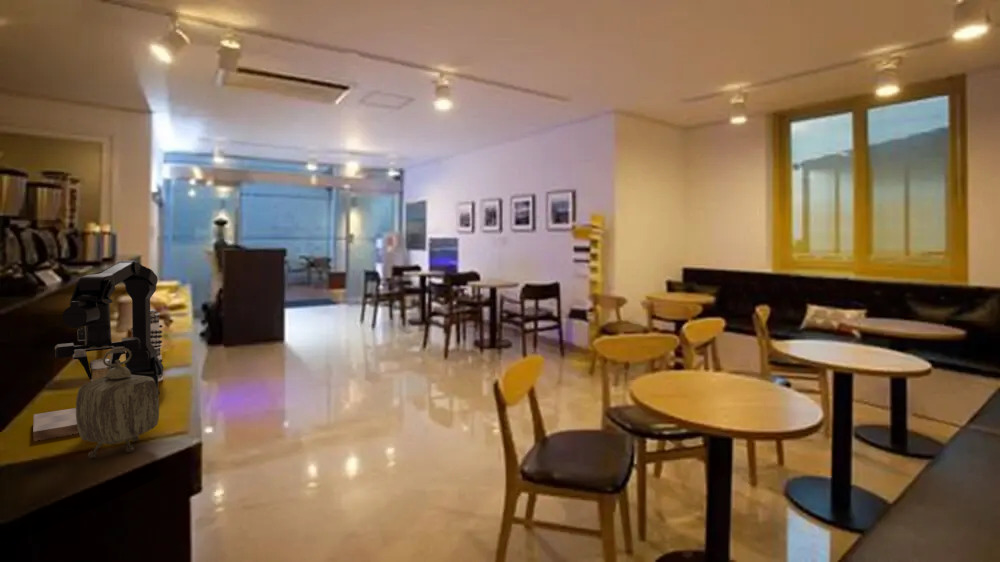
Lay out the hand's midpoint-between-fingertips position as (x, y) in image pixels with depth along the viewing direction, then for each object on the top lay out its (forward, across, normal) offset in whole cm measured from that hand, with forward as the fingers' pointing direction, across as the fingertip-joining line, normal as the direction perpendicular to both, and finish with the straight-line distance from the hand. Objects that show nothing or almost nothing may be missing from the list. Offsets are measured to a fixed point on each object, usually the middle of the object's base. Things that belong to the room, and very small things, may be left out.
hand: (100, 377), depth 151 cm
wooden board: (+12, +5, 0) cm, 13 cm away
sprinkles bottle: (+9, 0, 0) cm, 9 cm away
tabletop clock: (+12, -2, +29) cm, 32 cm away
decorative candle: (+12, -16, -40) cm, 45 cm away
